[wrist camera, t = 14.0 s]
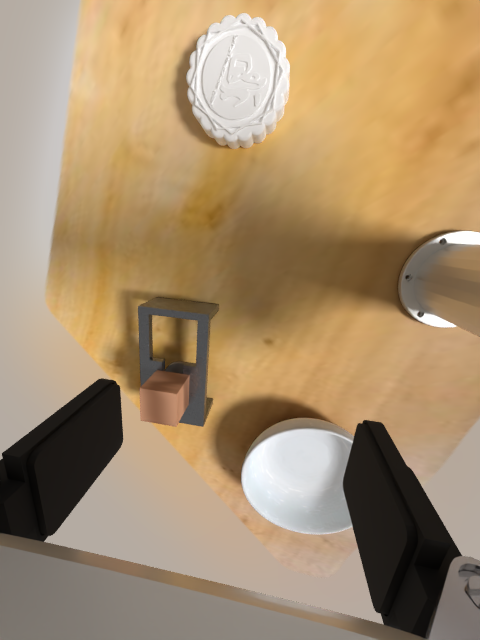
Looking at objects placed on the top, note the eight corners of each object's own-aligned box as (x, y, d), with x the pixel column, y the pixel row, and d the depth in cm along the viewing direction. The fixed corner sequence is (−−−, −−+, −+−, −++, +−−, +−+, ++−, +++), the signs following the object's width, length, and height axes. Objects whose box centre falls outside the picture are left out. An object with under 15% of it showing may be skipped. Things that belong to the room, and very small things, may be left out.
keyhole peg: (197, 363, 41) (177, 393, 33) (196, 392, 43) (177, 427, 35) (165, 359, 42) (138, 387, 34) (165, 387, 43) (140, 421, 35)
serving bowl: (223, 453, 49) (215, 486, 42) (297, 377, 42) (300, 402, 36) (310, 514, 50) (315, 555, 44) (394, 450, 44) (414, 487, 37)
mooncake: (260, 166, 34) (258, 158, 31) (179, 124, 34) (169, 111, 31) (308, 61, 31) (311, 39, 27) (216, 13, 31) (209, -15, 27)
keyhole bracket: (157, 297, 42) (138, 306, 36) (218, 304, 40) (208, 314, 35) (158, 394, 47) (141, 416, 41) (212, 403, 46) (203, 426, 40)
